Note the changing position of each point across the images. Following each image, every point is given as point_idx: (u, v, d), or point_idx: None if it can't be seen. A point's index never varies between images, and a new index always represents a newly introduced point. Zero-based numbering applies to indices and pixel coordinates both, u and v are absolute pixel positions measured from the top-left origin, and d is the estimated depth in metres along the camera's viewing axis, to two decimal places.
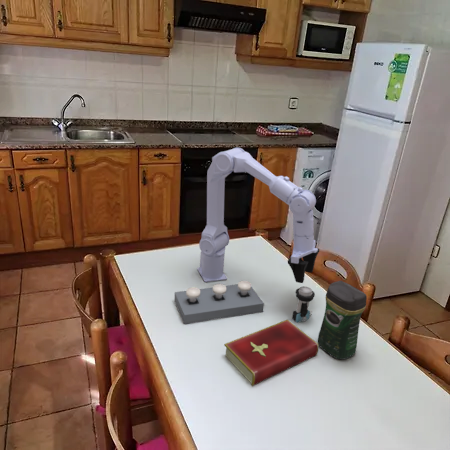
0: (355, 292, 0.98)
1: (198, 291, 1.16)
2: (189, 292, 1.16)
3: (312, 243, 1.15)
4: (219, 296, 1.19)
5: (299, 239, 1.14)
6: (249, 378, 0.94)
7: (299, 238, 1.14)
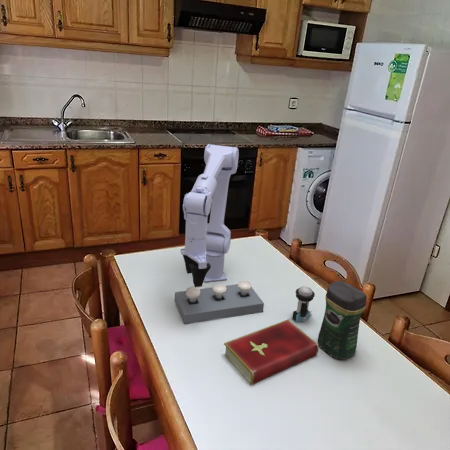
0: (355, 292, 0.98)
1: (198, 291, 1.16)
2: (189, 292, 1.16)
3: (185, 244, 1.10)
4: (219, 296, 1.19)
5: None
6: (248, 377, 0.94)
7: None
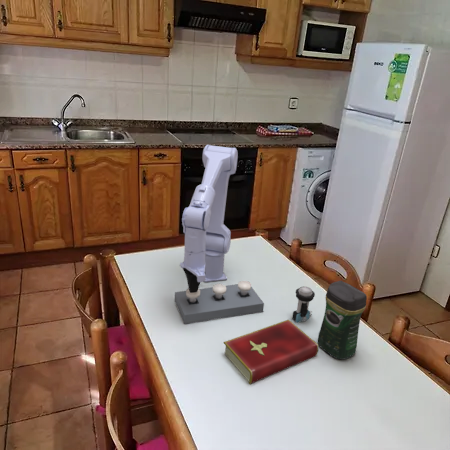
0: (355, 292, 0.98)
1: (198, 291, 1.16)
2: (189, 292, 1.16)
3: (184, 257, 1.12)
4: (219, 296, 1.19)
5: None
6: (247, 376, 0.95)
7: None
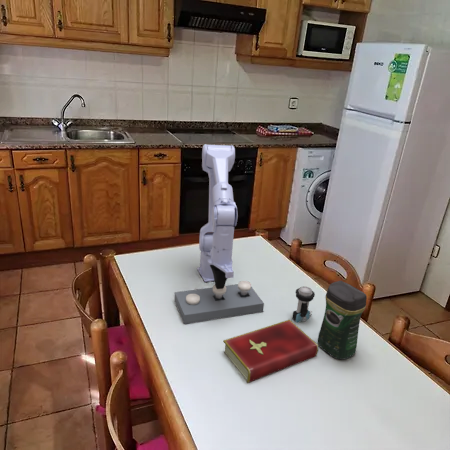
0: (355, 292, 0.98)
1: (198, 297, 1.17)
2: (189, 298, 1.16)
3: (212, 254, 1.14)
4: (219, 296, 1.19)
5: None
6: (245, 375, 0.95)
7: None
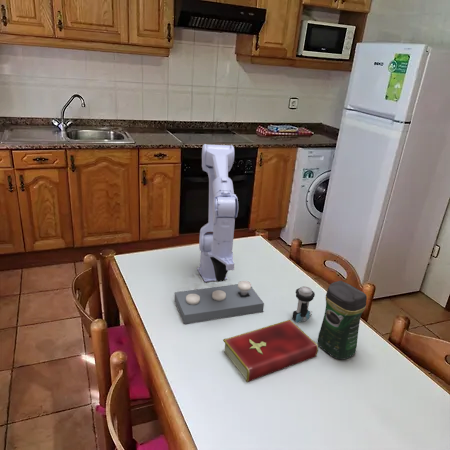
0: (355, 292, 0.98)
1: (198, 297, 1.17)
2: (189, 298, 1.16)
3: (212, 246, 1.13)
4: None
5: None
6: (244, 374, 0.95)
7: None
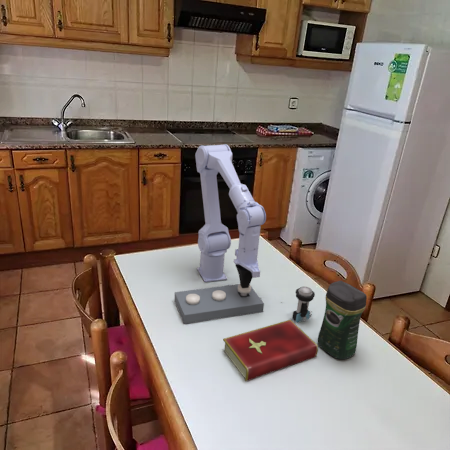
0: (355, 292, 0.98)
1: (198, 297, 1.17)
2: (189, 298, 1.16)
3: (238, 254, 1.17)
4: None
5: None
6: (243, 373, 0.95)
7: None
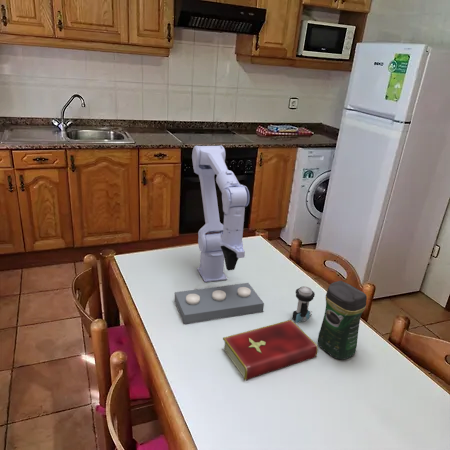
0: (355, 292, 0.98)
1: (198, 297, 1.17)
2: (189, 298, 1.16)
3: (223, 235, 1.17)
4: None
5: None
6: (242, 372, 0.96)
7: None
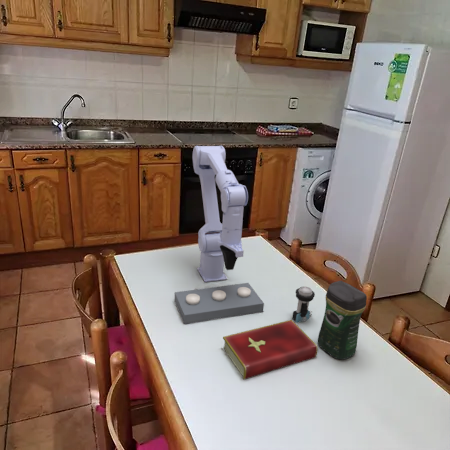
0: (355, 292, 0.98)
1: (198, 297, 1.17)
2: (189, 298, 1.16)
3: (222, 235, 1.17)
4: None
5: None
6: (241, 372, 0.96)
7: None
